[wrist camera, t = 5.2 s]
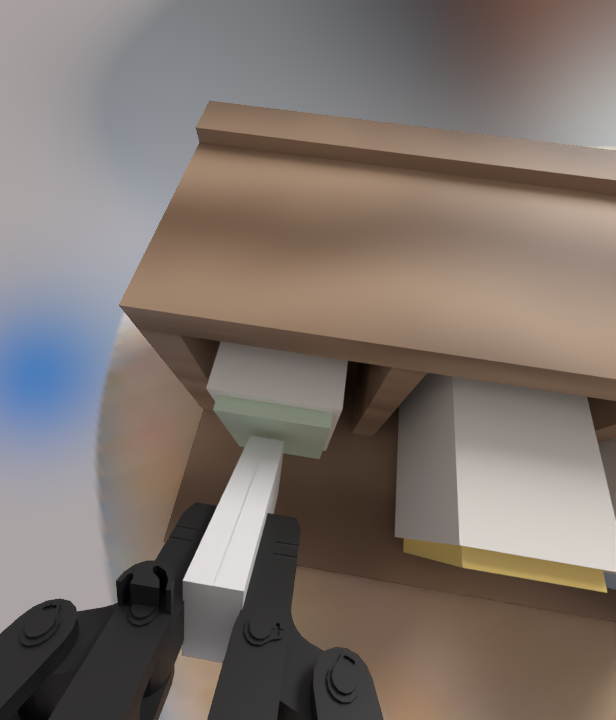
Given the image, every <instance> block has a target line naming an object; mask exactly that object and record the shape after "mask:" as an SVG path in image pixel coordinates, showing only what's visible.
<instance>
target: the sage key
mask: <svg viewBox="0 0 616 720" xmlns="http://www.w3.org/2000/svg"><path fill="white" fill-rule="evenodd" d="M347 364H348V361H347V360H341V359H334V358H328V357H321V356H314V355H308V354H301V353H294V352H288V351H281V350H275V349H268V348H261V347H255V346H248V345H242V344H235V343H228V342H222V341H221V342H220V345H219V349H218V352H217V355H216V358H215V361H214V365H213V368H212V371H211V374H210V377H209V381H208V384H207V387H206V389H207V390H208V392H209V393H210V395H211V396H212V398H213V399H214V401H215V405H214V408H213V410H214V412H215V413H216V415H217V416H218V417H219V419H220V420H221V421H222V423H223V424H224V426H225V427H226V428H227V430H228V431H229V432H230V434H231V435H232V437H233V438H234V439H235V441H236V442H237V443H238V445H239V446H242V447H245V446H246V444H247V442H248V439H249V437H250V436H255V437H261V438H268V439H274V440H281V441H285V442H284V450H283V453H285V454H291V455H297V456H303V457H309V458H315V459H320V457H321V454H322V451H326V449H327V447H328V444H329V442H330V439H331V437H332V434H333V432H334V429H335V427H336V424H337V422H338V419H339V417H340V414H341V412H342V409H343V400H344V391H345V382H346V373H347Z"/></svg>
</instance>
